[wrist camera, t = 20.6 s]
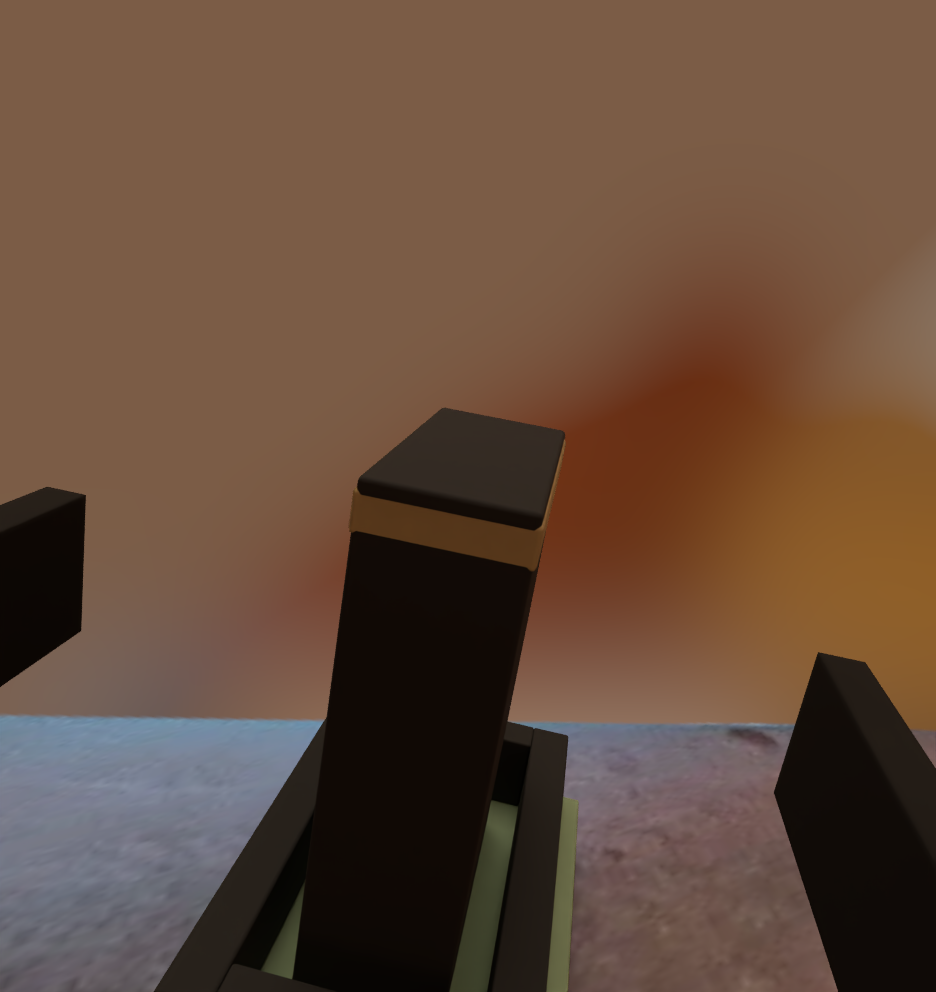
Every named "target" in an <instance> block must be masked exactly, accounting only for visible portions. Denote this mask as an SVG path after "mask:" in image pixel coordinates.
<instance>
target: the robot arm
mask: <svg viewBox="0 0 936 992" xmlns="http://www.w3.org/2000/svg"><path fill="white" fill-rule="evenodd" d="M85 503H86V495H83V494H78V493H74V492H69V491H64V490H60V489H55V488H51V487H45V488H43V489H40V490H38V491H35V492H33V493H30V494H28V495H25V496H22V497H20V498H17V499H15V500H12V501H10V502H7V503H5V504H2V505H0V687H1V686H2V685H4V684H5V683H7V682H8V681H9V680H11V679H12V678H13V677H15V676H17V675H18V674H19V673H21V672H22V671H24V670H25V669H27V668H28V667H29V666H31V665H33V664H34V663H35V662H37V661H38V660H40V659H41V658H42V657H44V656H46V655H47V654H48V653H50V652H51V651H53V650H54V649H56V648H57V647H59V646H60V645H61V644H63V643H64V642H66V641H67V640H69V639H70V638H72V637H73V636H74V635H76V634H77V633H78V632H80V631H81V620H82V590H83V561H84V559H83V558H84V533H85ZM774 794H775V798H776V801H777V804H778V807H779V810H780V813H781V816H782V819H783V822H784V825H785V828H786V832H787V835H788V838H789V841H790V844H791V847H792V850H793V853H794V856H795V859H796V862H797V866H798V869H799V872H800V875H801V878H802V881H803V884H804V887H805V890H806V893H807V896H808V900H809V903H810V906H811V909H812V912H813V915H814V918H815V921H816V924H817V927H818V930H819V934H820V937H821V940H822V943H823V946H824V949H825V952H826V955H827V958H828V961H829V964H830V968H831V971H832V974H833V977H834V980H835V983H836V986H837V989H838V992H936V768H935V767H934V765H933V764H932V762H931V761H930V759H929V758H928V756H927V755H926V753H925V752H924V750H923V749H922V747H921V746H920V744H919V743H918V741H917V740H916V738H915V737H914V735H913V734H912V732H911V731H910V729H909V728H908V726H907V724H906V723H905V722H904V720H903V719H902V717H901V715H900V714H899V713H898V711H897V709H896V708H895V706H894V705H893V703H892V702H891V700H890V699H889V697H888V696H887V694H886V693H885V691H884V690H883V688H882V687H881V685H880V684H879V682H878V681H877V679H876V678H875V676H874V675H873V673H872V672H871V670H870V669H869V667H868V666H867V664H866V663H865V662H861V661H857V660H852V659H847V658H843V657H838V656H833V655H828V654H824V653H819V652H818V654H817V657H816V660H815V664H814V667H813V670H812V673H811V676H810V679H809V683H808V686H807V689H806V692H805V695H804V698H803V702H802V705H801V708H800V711H799V715H798V718H797V721H796V724H795V727H794V730H793V733H792V737H791V740H790V743H789V746H788V749H787V752H786V756H785V759H784V762H783V765H782V768H781V771H780V775H779V778H778V781H777V784H776V787H775V790H774Z"/></svg>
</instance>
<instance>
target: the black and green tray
mask: <svg viewBox="0 0 936 992" xmlns="http://www.w3.org/2000/svg"><path fill="white" fill-rule="evenodd" d="M326 719H327V717H326ZM326 719H325V721H324V722H323V724H322V725H321V727H320V728H319V730H318V732H317V733H316V735H315V736H314V738H313V740H312V741H311V743H310V744H309V746H308V748H307V749H306V751H305V752H304V754H303V755H302V757H301V759H300V760H299V762H298V763H297V765H296V767H295V768H294V770H293V771H292V773H291V775H290V776H289V778H288V779H287V781H286V782H285V784H284V786H283V787H282V789H281V790H280V792H279V794H278V795H277V797H276V798H275V800H274V802H273V803H272V805H271V806H270V808H269V809H268V811H267V813H266V814H265V816H264V817H263V819H262V821H261V822H260V824H259V825H258V827H257V829H256V830H255V832H254V833H253V835H252V836H251V838H250V840H249V841H248V843H247V844H246V846H245V848H244V849H243V851H242V852H241V854H240V856H239V857H238V859H237V860H236V862H235V863H234V865H233V867H232V868H231V870H230V871H229V873H228V875H227V876H226V878H225V879H224V881H223V883H222V884H221V886H220V887H219V889H218V890H217V892H216V894H215V895H214V897H213V898H212V900H211V902H210V903H209V905H208V906H207V908H206V910H205V911H204V913H203V914H202V916H201V918H200V919H199V921H198V922H197V924H196V925H195V927H194V929H193V930H192V932H191V933H190V935H189V937H188V938H187V940H186V941H185V943H184V945H183V946H182V948H181V949H180V951H179V952H178V954H177V956H176V957H175V959H174V960H173V962H172V964H171V965H170V967H169V968H168V970H167V972H166V973H165V975H164V976H163V978H162V979H161V981H160V983H159V984H158V986H157V987H156V989H155V991H154V992H336V991H333V990H329V989H325V988H322V987H318V986H315V985H311V984H307V983H304V982H300V981H297V980H293V979H292V977H293V970H294V962H295V954H296V947H297V939H298V932H299V924H300V917H301V909H302V901H303V894H304V886H305V879H306V871H307V863H308V856H309V848H310V841H311V833H312V825H313V818H314V810H315V803H316V795H317V787H318V780H319V772H320V765H321V757H322V749H323V742H324V734H325V727H326ZM567 747H568V736H567V735H563V734H558V733H554V732H550V731H546V730H541V729H537V728H535V729H533V728H532V727H528V726H524V725H520V724H516V723H511V722H507V725H506V730H505V735H504V740H503V745H502V750H501V755H500V760H499V765H498V770H497V775H496V779H495V784H494V789H493V794H492V799H491V804H490V809H489V814H488V819H487V824H486V828H485V833H484V837H483V842H482V846H481V851H480V856H479V860H478V865H477V869H476V874H475V878H474V883H473V887H472V892H471V896H470V901H469V905H468V910H467V914H466V919H465V924H464V928H463V933H462V937H461V942H460V946H459V951H458V955H457V960H456V964H455V969H454V973H453V978H452V982H451V987H450V992H568V981H569V963H570V945H571V928H572V910H573V892H574V874H575V857H576V839H577V821H578V801H577V800H573V799H569V798H565V797H563V793H564V781H565V770H566V758H567Z"/></svg>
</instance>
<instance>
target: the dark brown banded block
mask: <svg viewBox="0 0 936 992" xmlns="http://www.w3.org/2000/svg"><path fill="white" fill-rule="evenodd" d="M564 439H565V433H564V432H563V431H561V430H556V429H551V428H546V427H541V426H536V425H530V424H525V423H520V422H515V421H509V420H505V419H500V418H495V417H489V416H484V415H479V414H474V413H469V412H463V411H459V410H453V409H448V408H442V409H441V410H439V411H438V412H437V413H436V414H435V415H433V416H432V417H431V418H430V419H429V420H427V421H426V422H425V423H424V424H423V425H421V426H420V427H419V428H418V429H417V430H415V431H414V432H413V433H412V434H411V435H410V436H408V437H407V438H406V439H405V440H403V441H402V442H401V443H400V444H399V445H397V446H396V447H395V448H394V449H393V450H391V451H390V452H389V453H388V454H387V455H385V456H384V457H383V458H382V459H381V460H379V461H378V462H377V463H376V464H375V465H373V466H372V467H371V468H370V469H369V470H367V471H366V472H365V473H364V474H363V475H361V476H360V478H359V480H358V484H357V487H356V488H355V489H354V491H353V498H352V505H351V513H350V521H349V531H350V532H351V537H350V545H349V552H348V560H347V568H346V575H345V583H344V591H343V598H342V605H341V613H340V620H339V628H338V637H337V643H336V651H335V658H334V666H333V674H332V682H331V689H330V696H329V704H328V712H327V719H326V727H325V734H324V742H323V749H322V757H321V765H320V772H319V780H318V787H317V795H316V803H315V810H314V818H313V825H312V833H311V841H310V848H309V856H308V863H307V871H306V879H305V886H304V894H303V901H302V909H301V917H300V924H299V932H298V939H297V947H296V954H295V962H294V970H293V977H292V979H293V980H297V981H300V982H304V983H307V984H311V985H315V986H318V987H322V988H325V989H329V990H333V991H336V992H450V987H451V982H452V978H453V973H454V969H455V964H456V960H457V955H458V951H459V946H460V942H461V937H462V933H463V928H464V924H465V919H466V914H467V910H468V905H469V901H470V896H471V892H472V887H473V883H474V878H475V874H476V869H477V865H478V860H479V856H480V851H481V846H482V842H483V837H484V833H485V828H486V824H487V819H488V814H489V809H490V804H491V799H492V794H493V789H494V784H495V779H496V775H497V770H498V765H499V760H500V755H501V750H502V745H503V740H504V735H505V730H506V725H507V720H508V715H509V710H510V705H511V700H512V695H513V690H514V685H515V681H516V676H517V671H518V666H519V661H520V655H521V651H522V646H523V641H524V636H525V631H526V626H527V621H528V617H529V612H530V607H531V602H532V597H533V592H534V587H535V582H536V577H537V572H538V567H539V562H540V557H541V552H542V548H543V543H544V538H545V533H546V527H547V523H548V519H549V515H550V511H551V506H552V502H553V498H554V494H555V490H556V486H557V481H558V478H559V473H560V469H561V464H562V460H563V454H564V450H565V444H566V443H565V441H564Z"/></svg>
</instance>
